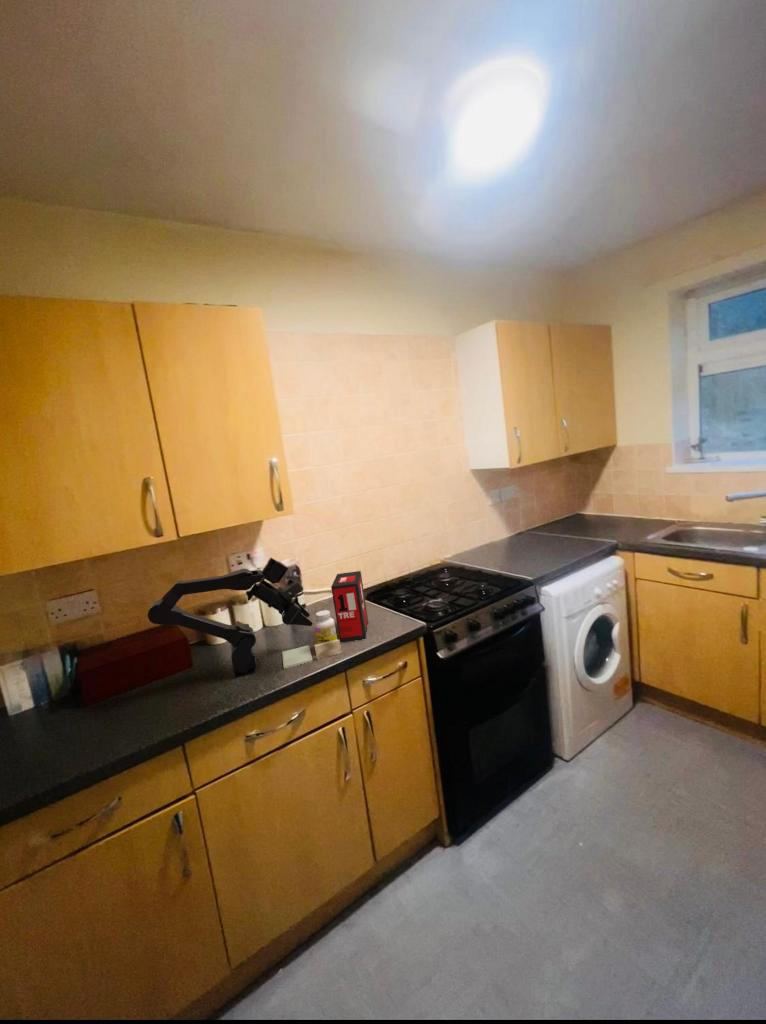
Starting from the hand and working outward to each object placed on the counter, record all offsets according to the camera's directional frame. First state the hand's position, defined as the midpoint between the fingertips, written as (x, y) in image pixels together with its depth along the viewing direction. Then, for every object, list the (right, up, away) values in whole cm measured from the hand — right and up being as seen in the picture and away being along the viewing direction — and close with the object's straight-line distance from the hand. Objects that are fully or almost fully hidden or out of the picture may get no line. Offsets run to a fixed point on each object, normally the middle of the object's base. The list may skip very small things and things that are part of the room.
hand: (310, 620), depth 145 cm
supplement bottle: (+6, -11, +2) cm, 12 cm away
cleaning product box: (+14, -8, +15) cm, 22 cm away
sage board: (-4, -12, -1) cm, 13 cm away
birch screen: (+7, -11, -3) cm, 13 cm away
